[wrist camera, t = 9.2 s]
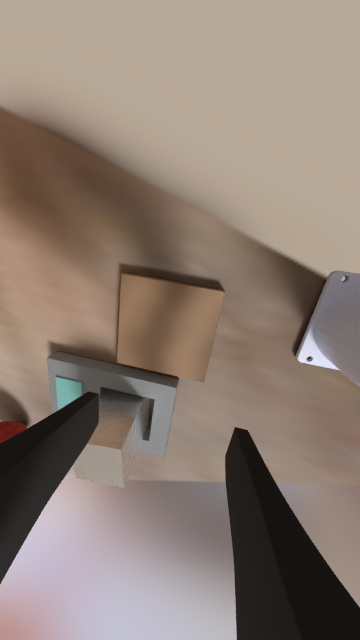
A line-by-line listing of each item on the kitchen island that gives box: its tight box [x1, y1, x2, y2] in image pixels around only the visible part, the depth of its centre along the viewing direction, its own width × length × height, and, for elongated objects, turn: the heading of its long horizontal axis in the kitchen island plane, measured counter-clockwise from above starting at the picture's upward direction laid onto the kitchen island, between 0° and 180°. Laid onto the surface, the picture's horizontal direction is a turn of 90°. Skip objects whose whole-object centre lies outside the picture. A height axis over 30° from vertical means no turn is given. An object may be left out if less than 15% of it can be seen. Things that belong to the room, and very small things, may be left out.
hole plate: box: [47, 352, 179, 458], centre depth 21 cm, size 14×10×2 cm
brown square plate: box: [117, 273, 225, 382], centre depth 18 cm, size 9×9×1 cm
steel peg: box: [74, 389, 149, 488], centre depth 19 cm, size 4×4×7 cm
